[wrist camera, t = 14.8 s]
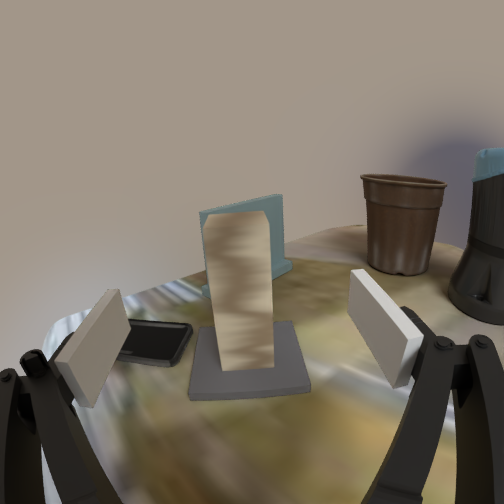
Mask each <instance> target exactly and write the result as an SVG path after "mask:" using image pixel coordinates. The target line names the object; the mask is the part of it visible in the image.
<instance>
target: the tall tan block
mask: <svg viewBox="0 0 504 504" xmlns="http://www.w3.org/2000/svg"><path fill="white" fill-rule="evenodd" d="M203 238H204V247H205V255H206V263H207V271H208V279H209V286H210V294H211V301H212V308H213V315H214V322H215V328H216V335H217V341H218V348H219V354H220V360H221V366H222V371H233V370H248V369H261V368H273V367H274V337H273V305H272V277H271V252H270V229H269V222H268V220H267V217H266V215H265V213H264V211H251V212H237V213H224V214H212V215H208V218H207V220H206V222H205V224H204V226H203Z"/></svg>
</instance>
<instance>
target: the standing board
mask: <svg viewBox="0 0 504 504" xmlns="http://www.w3.org/2000/svg"><path fill="white" fill-rule="evenodd" d="M251 211H264V213H265V215H266V217H267V220H268V222H269V229H270V252H271V277H272V280H273V279H275V278H277V277H279V276H281V275H282V274H284V273H286V272H288V271H290V270H292V261H290V260H286V259H284V227H283V226H284V225H283V198H282V195H280V194H274V195H269V196H265V197H260V198H256V199H251V200H247V201H242V202H238V203H234V204H230V205H226V206H221V207H217V208H213V209H209V210H205V211H201V212H199V214H200V224H201V233H202V241H203V250H204V258H205V266H206V274H207V282H208V284H205V285H203V286H201V287H202V294H203V295H204V296H206V297H208V298H210V299H211V294H210V286H209V279H208V271H207V263H206V255H205V247H204V238H203V226H204V224H205V222H206V220H207V218H208V215H212V214H224V213H237V212H251Z"/></svg>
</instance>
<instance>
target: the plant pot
mask: <svg viewBox="0 0 504 504" xmlns="http://www.w3.org/2000/svg"><path fill="white" fill-rule="evenodd" d="M360 177H361V179H363V187H364V198H365V199H366V207H367V232H368V256H367V257H368V263H369V264H370V265H371V266H372V267H374V268H376V269H377V270H380V271H382V272H386V273H390V274H396V273H402V274H404V275H405V276H409V275H417V274H421V273H423V272H425V271H426V270H427V268H428V265H429V260H430V256H431V251H432V247H433V242H434V237H435V232H436V227H437V221H438V216H439V210H440V207H441V206H442V201H443V195H444V189H445V187H447V183H445V182H442V181H438V180H433V179H426V178H419V177H412V176H402V175H388V174H386V175H385V174H364V175H360Z"/></svg>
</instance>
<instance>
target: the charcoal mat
mask: <svg viewBox="0 0 504 504" xmlns="http://www.w3.org/2000/svg"><path fill="white" fill-rule="evenodd" d="M273 337H274V367H273V368H261V369H248V370H233V371H222V366H221V360H220V354H219V348H218V341H217V335H216V328H215V327H200V329H199V335H198V340H197V346H196V351H195V357H194V362H193V368H192V374H191V380H190V386H189V392H188V394H189V397H190V400H231V399H249V398H262V397H273V396H283V395H291V394H299V393H307V392H310V391H311V383H310V379H309V376H308V373H307V369H306V366H305V363H304V359H303V356H302V353H301V349H300V346H299V343H298V340H297V336H296V333H295V330H294V326H293V323H292V321H283V322H273Z"/></svg>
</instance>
